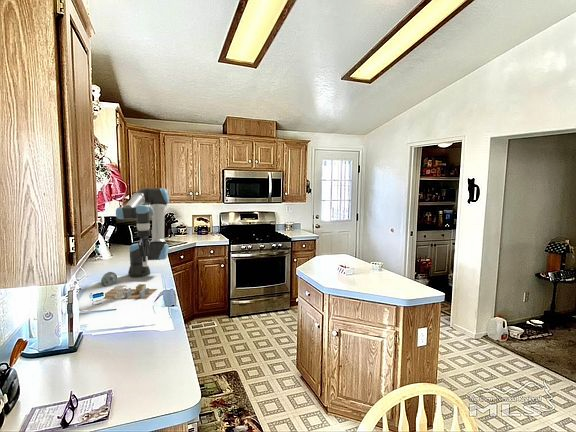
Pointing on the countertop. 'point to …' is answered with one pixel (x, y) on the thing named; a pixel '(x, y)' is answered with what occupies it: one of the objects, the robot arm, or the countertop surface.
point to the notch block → (141, 293)
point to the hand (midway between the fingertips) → (145, 266)
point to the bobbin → (120, 292)
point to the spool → (109, 279)
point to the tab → (140, 287)
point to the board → (134, 295)
